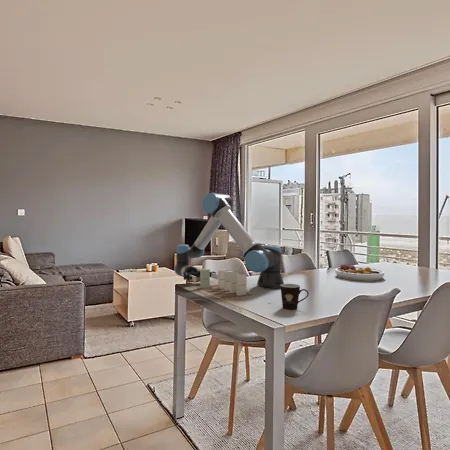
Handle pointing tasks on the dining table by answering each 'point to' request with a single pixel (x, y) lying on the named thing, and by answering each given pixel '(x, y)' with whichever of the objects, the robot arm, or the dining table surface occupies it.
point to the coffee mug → (291, 296)
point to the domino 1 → (205, 278)
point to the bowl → (359, 273)
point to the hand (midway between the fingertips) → (206, 278)
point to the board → (221, 292)
